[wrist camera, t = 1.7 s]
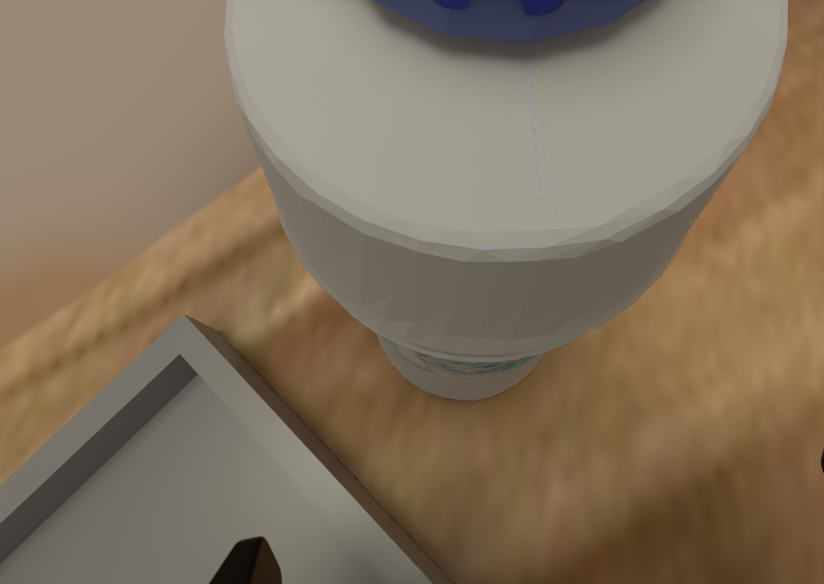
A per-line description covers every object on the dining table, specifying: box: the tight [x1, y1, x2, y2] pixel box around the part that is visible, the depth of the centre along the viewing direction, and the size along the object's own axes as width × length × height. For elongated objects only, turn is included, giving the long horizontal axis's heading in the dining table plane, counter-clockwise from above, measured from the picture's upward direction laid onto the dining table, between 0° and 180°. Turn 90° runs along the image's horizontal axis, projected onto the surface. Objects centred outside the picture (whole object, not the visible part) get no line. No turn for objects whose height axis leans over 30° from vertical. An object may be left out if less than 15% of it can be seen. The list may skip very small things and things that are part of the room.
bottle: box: [224, 0, 788, 401], centre depth 12 cm, size 7×7×20 cm
